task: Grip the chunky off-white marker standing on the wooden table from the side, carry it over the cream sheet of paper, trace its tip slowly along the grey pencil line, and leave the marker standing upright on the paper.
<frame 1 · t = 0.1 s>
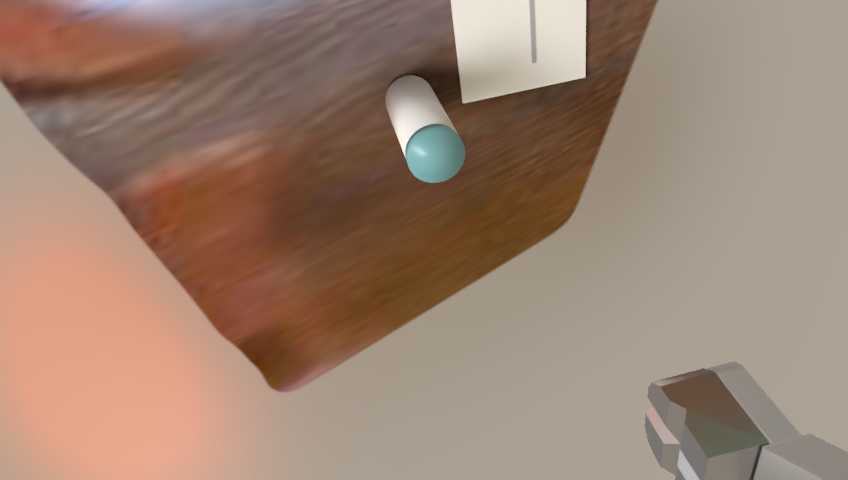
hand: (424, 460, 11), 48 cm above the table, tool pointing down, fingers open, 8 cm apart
paper: (519, 2, 55), on the table
marker: (406, 93, 58), on the table
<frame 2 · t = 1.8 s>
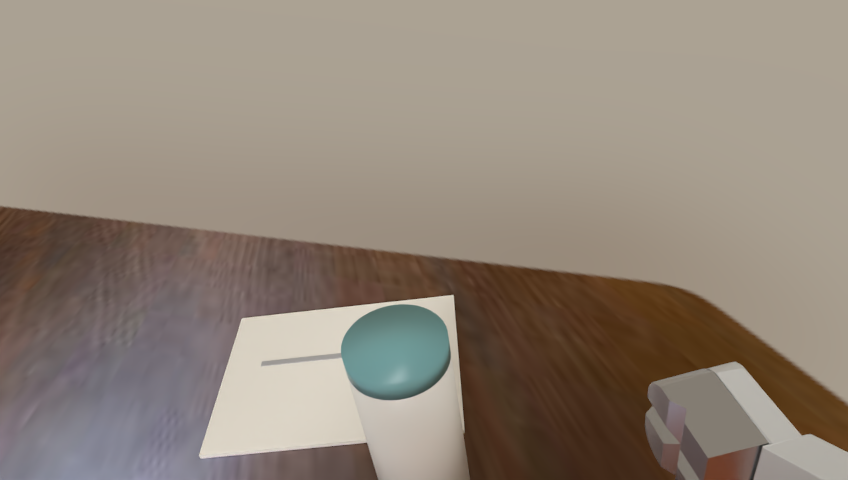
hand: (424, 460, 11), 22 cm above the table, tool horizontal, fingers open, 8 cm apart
paper: (340, 370, 43), on the table
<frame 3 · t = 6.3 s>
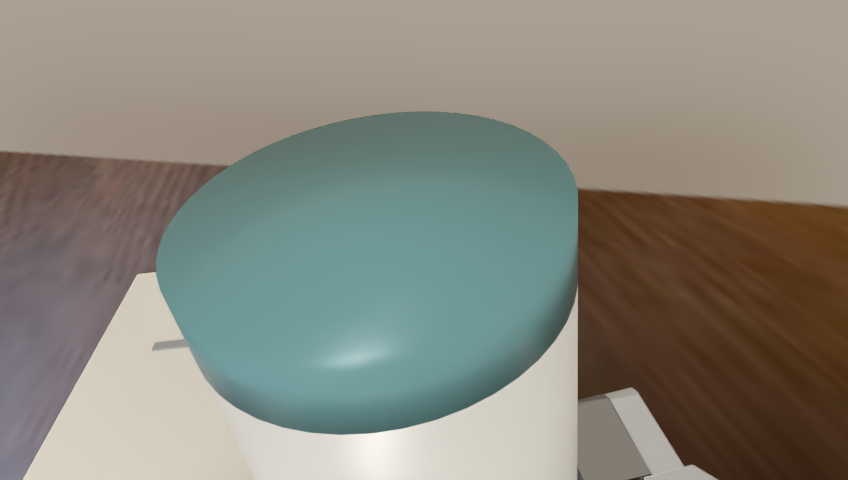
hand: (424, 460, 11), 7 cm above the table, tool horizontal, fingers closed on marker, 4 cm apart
paper: (290, 356, 24), on the table
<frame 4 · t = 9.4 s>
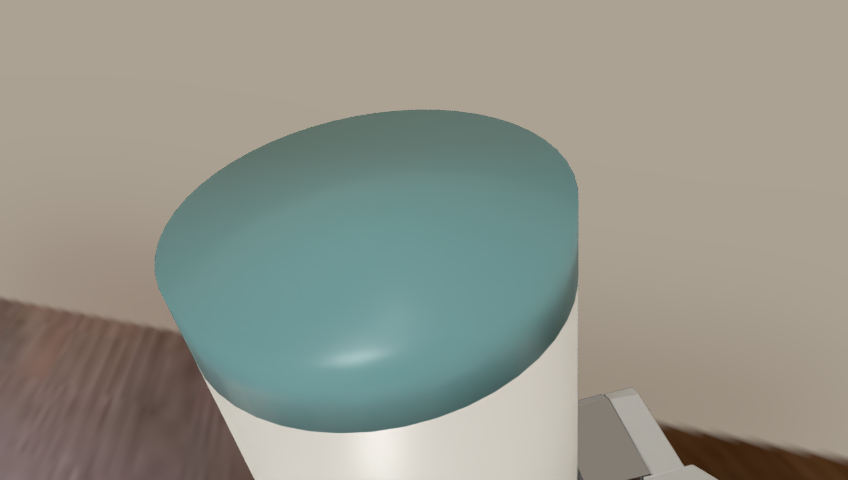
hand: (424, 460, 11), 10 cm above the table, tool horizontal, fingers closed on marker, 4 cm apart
when the fingers open (8 cm above the table, at t = 12.4 s): marker stays where it is, resting on paper.
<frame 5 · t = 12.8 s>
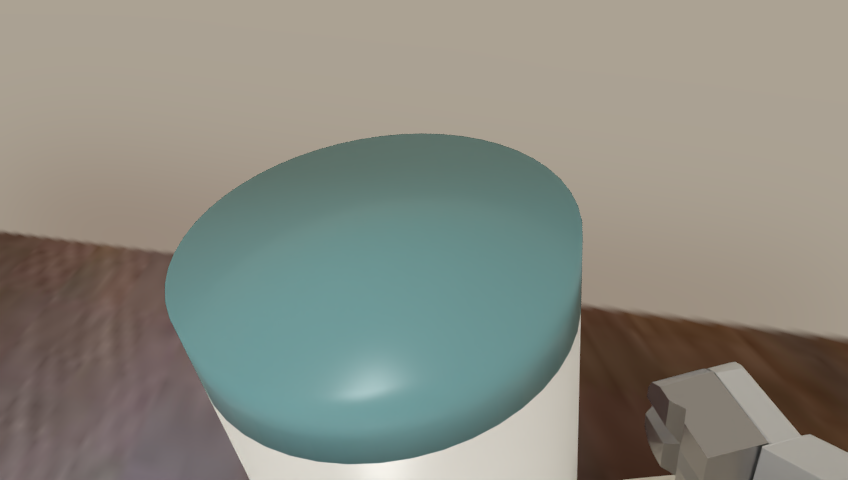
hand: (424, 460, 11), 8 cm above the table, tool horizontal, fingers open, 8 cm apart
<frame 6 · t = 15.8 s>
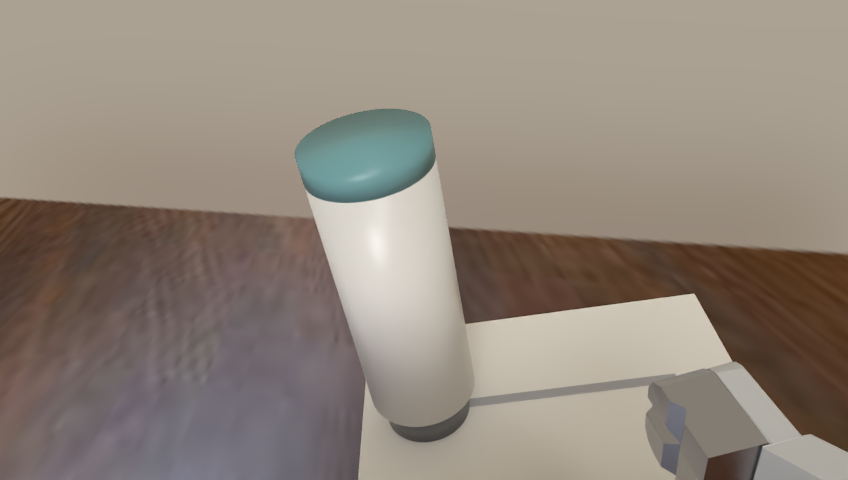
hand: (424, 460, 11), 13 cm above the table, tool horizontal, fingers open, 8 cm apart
paper: (550, 417, 27), on the table
marker: (428, 407, 28), resting on paper
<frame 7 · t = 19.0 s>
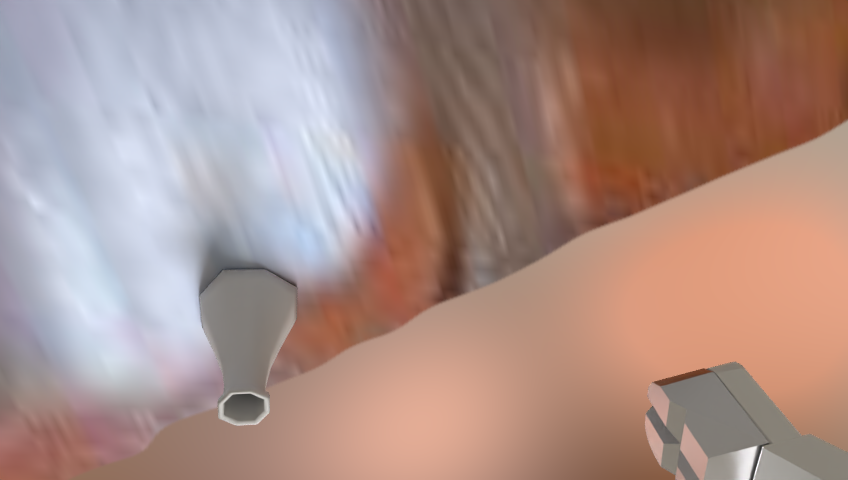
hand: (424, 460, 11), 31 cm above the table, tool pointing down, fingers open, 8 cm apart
flask: (249, 303, 47), on the table
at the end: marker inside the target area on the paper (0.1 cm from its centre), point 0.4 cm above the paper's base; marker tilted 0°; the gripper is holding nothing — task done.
